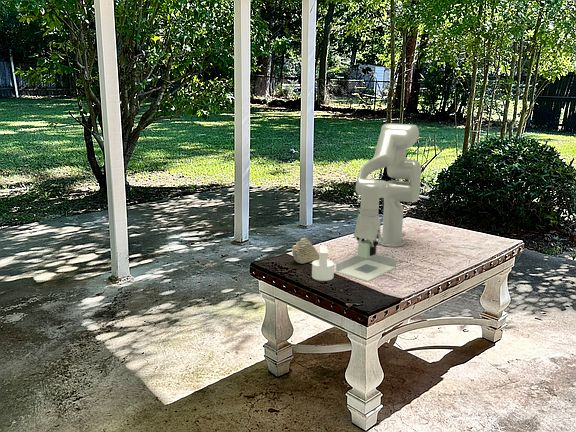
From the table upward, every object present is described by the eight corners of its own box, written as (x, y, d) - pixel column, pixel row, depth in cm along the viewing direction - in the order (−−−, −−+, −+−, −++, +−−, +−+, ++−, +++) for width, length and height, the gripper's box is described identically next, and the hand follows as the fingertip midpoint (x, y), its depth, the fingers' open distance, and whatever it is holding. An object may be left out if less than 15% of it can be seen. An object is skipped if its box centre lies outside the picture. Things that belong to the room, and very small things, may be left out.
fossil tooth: (321, 262, 246) (296, 266, 236) (312, 258, 250) (287, 262, 241) (324, 238, 243) (299, 241, 234) (315, 234, 248) (290, 237, 238)
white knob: (311, 272, 230) (312, 245, 227) (333, 273, 230) (333, 246, 226) (312, 280, 221) (312, 252, 218) (334, 281, 221) (335, 253, 218)
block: (357, 256, 230) (358, 242, 229) (367, 252, 235) (367, 238, 234) (366, 258, 227) (367, 244, 226) (376, 254, 232) (376, 241, 231)
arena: (365, 259, 246) (365, 250, 245) (396, 268, 236) (396, 259, 235) (336, 272, 230) (336, 263, 229) (367, 281, 220) (368, 272, 219)
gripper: (347, 210, 229) (345, 251, 234) (381, 217, 218) (379, 260, 223) (357, 207, 235) (355, 247, 239) (391, 214, 224) (388, 256, 228)
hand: (367, 253), depth 231 cm, fingers closed on block, 4 cm apart
